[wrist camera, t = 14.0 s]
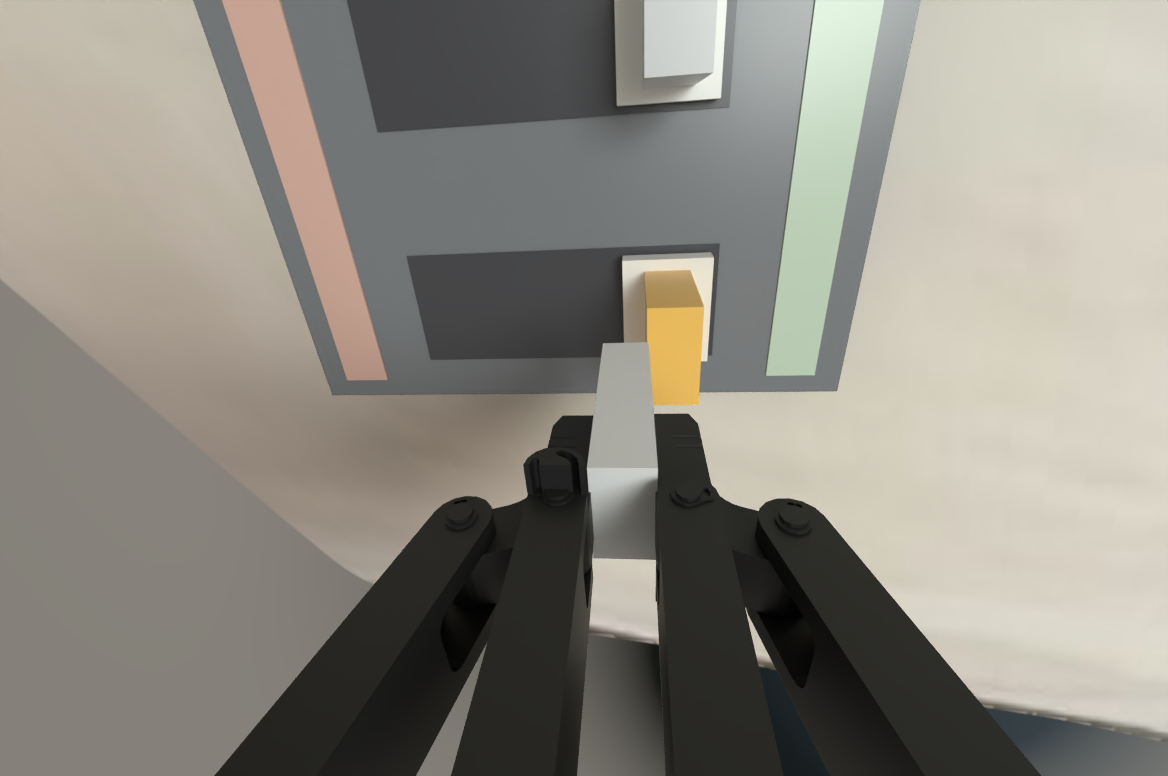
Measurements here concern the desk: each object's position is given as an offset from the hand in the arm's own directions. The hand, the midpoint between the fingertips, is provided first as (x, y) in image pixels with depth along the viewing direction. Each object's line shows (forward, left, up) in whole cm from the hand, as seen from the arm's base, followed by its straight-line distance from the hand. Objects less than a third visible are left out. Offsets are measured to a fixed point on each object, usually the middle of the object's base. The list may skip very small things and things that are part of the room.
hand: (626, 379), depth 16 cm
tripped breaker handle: (0, +2, -8) cm, 8 cm away
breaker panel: (-5, -3, -11) cm, 12 cm away
